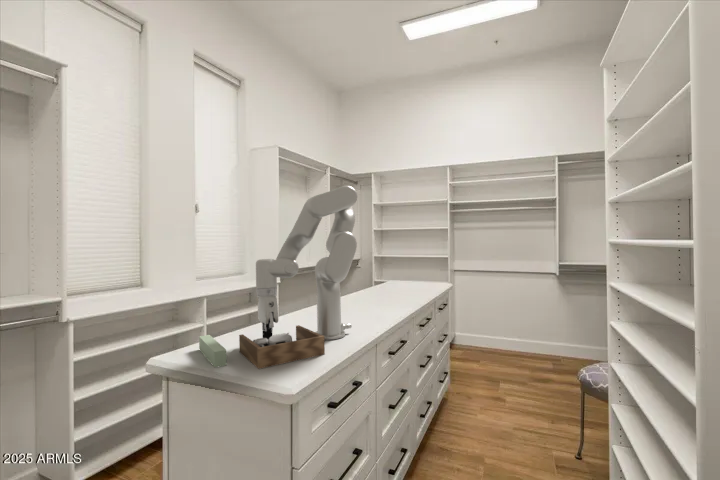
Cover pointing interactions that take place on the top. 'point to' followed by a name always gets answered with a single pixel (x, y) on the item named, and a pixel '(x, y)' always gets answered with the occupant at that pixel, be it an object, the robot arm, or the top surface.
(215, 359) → the sage green plank
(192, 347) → the top surface
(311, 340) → the wooden tray
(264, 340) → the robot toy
